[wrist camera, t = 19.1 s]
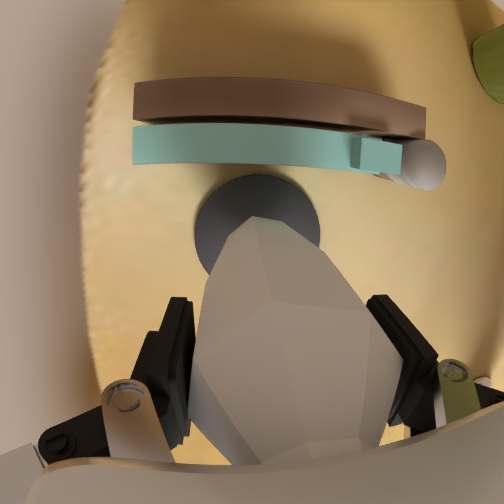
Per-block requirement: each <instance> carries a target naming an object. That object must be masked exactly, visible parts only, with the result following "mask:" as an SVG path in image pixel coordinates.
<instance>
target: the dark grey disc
mask: <svg viewBox="0 0 504 504" xmlns="http://www.w3.org/2000/svg"><path fill="white" fill-rule="evenodd" d="M251 216H255V217H261V218H266V219H271V220H277V221H282V222H284V223H285V224H286V225H288V226H289V227H291V228H292V229H293V230H295V231H296V232H297V233H299V234H300V235H302V236H303V237H304V238H306V239H307V240H309V241H310V242H311V243H313V244H314V245H315V246H317V247H318V248H319V243H320V225H319V220H318V217H317V214H316V211H315V209H314V207H313V206H312V204H311V202H310V201H309V200H308V198H307V197H306V196H305V195H304V194H303V193H302V192H301V191H300V190H299V189H297V188H296V187H295V186H293V185H292V184H290V183H288V182H286V181H284V180H282V179H279V178H276V177H272V176H266V175H251V176H245V177H241V178H238V179H235V180H233V181H230V182H228V183H226V184H225V185H223V186H222V187H220V188H219V189H218V190H217V191H215V192H214V193H213V194H212V195H211V197H210V198H209V199H208V200H207V202H206V203H205V204H204V206H203V208H202V210H201V212H200V214H199V217H198V220H197V223H196V228H195V247H196V251H197V255H198V257H199V260H200V262H201V264H202V266H203V267H204V269H205V270H206V272H207V273H208V274H209V275H210V274H211V271H212V269H213V267H214V265H215V263H216V261H217V259H218V257H219V255H220V253H221V251H222V249H223V247H224V245H225V242H226V240H227V238H228V236H229V235H230V234H231V233H233V232H234V231H235V230H236V229H237V228H238V227H240V226H241V225H242V224H243V223H244V222H245V221H247V220H248V219H249V218H250V217H251Z"/></svg>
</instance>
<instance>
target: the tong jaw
mask: <svg viewBox="0 0 504 504" xmlns="http://www.w3.org/2000/svg"><path fill="white" fill-rule="evenodd" d="M401 158H402V145H400V144H395V143H390V142H385V141H382V139H380V138H374V137H369V136H363V135H357V134H350V133H344V132H336V131H329V130H321V129H312V128H302V127H291V126H278V125H262V124H236V123H190V124H165V125H149V126H136V127H133V165H143V164H169V163H241V164H268V165H286V166H301V167H314V168H325V169H336V170H345V171H354V172H363V173H371V174H378V175H380V172H382V173H389V174H396V175H400V169H401Z"/></svg>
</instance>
